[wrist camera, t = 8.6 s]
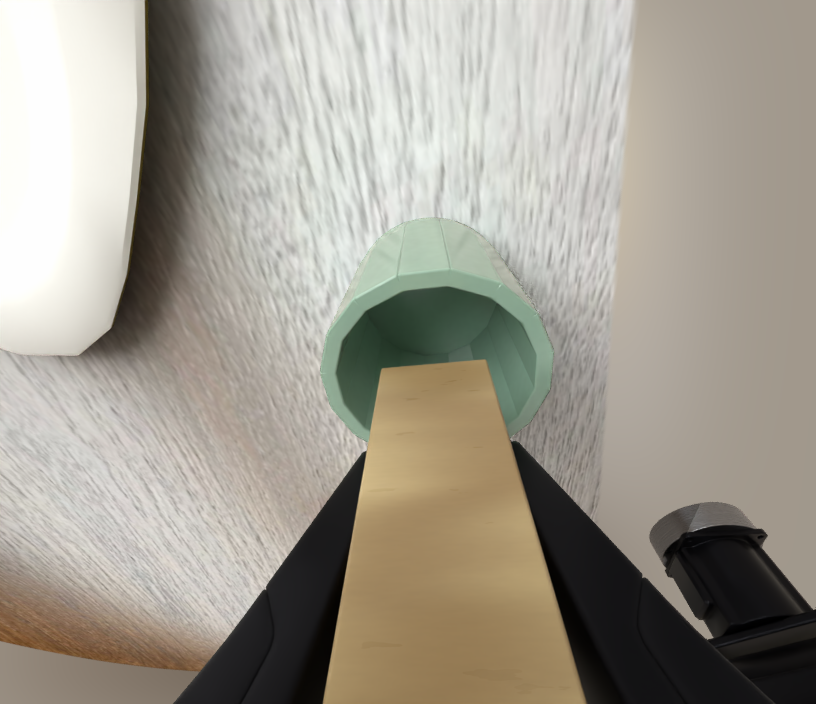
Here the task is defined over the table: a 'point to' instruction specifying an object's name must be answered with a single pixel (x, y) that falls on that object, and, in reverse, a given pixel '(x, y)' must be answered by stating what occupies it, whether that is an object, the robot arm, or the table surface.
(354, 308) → the cup
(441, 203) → the table surface
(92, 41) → the plate
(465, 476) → the stick
